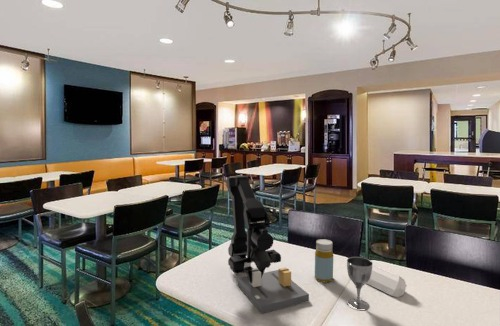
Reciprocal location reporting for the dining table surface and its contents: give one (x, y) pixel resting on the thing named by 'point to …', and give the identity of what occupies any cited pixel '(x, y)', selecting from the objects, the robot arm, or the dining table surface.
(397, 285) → the crystal
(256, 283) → the fader
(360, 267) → the wine glass
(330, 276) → the bottle
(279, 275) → the block
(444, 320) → the dining table surface
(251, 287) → the console
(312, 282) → the dining table surface
